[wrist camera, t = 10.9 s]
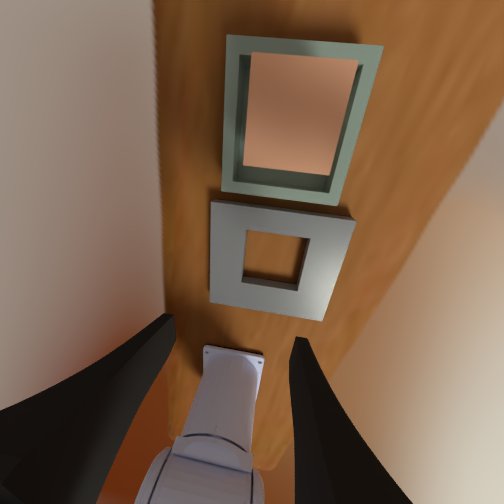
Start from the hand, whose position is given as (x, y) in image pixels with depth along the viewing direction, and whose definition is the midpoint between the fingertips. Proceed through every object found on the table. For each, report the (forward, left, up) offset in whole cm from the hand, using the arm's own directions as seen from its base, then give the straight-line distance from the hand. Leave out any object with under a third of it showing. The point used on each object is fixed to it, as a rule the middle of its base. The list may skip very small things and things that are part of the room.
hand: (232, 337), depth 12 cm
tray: (+11, -2, -9) cm, 15 cm away
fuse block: (+11, -2, -9) cm, 14 cm away
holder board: (+1, -2, -9) cm, 10 cm away
